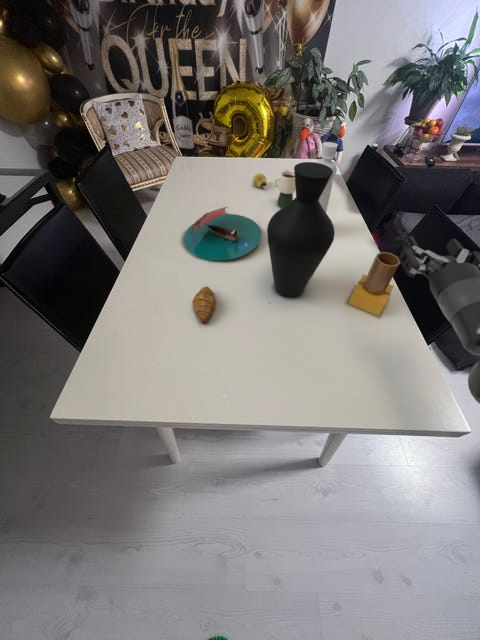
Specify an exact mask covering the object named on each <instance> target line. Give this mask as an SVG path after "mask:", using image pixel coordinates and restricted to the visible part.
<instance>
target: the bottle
mask: <svg viewBox="0 0 480 640" xmlns="http://www.w3.org/2000/svg"><path fill="white" fill-rule="evenodd" d="M337 148H338V144H337V143H335V142H333V141H332V142H331V141H324V142H322V145H321V152H320V157H321V159H318V160H315V163H321V164H324V165H326V166H328V167H330V168H331V169H332V171H333V173H332V175H331V177H330V179H329V181H328V183H327V185H326V187H325V189H324V191H323V193H322V195H321V197H320V199H319V200H318V201H319V202H320V204H321V206H322V208H323V209H324V211H325V212H326V213H327V211H328V206H329V202H330V197H331V193H332V188H333V178H334V177H335V176H336V174H337V172H338V171H337V164H336V162H335V161H333V159H334V158H335V155H336V152H337Z"/></svg>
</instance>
